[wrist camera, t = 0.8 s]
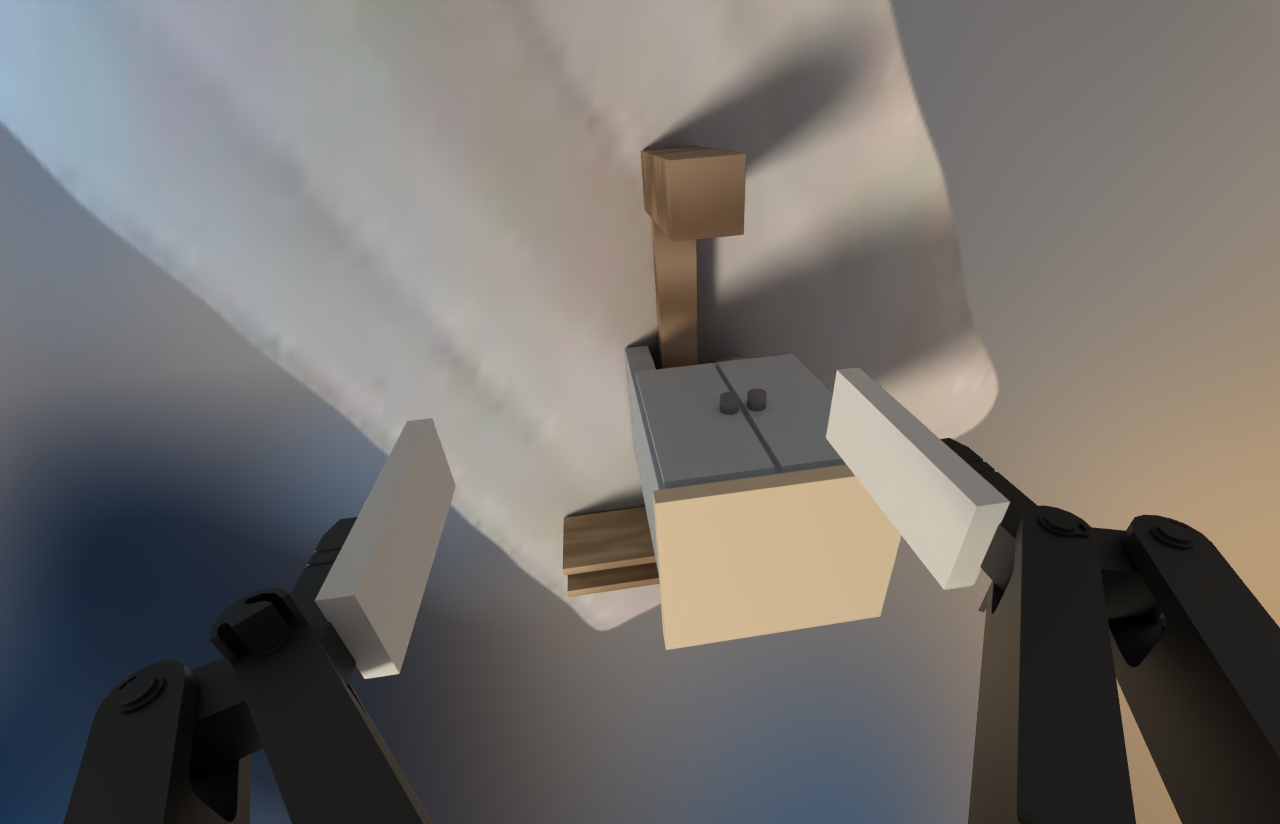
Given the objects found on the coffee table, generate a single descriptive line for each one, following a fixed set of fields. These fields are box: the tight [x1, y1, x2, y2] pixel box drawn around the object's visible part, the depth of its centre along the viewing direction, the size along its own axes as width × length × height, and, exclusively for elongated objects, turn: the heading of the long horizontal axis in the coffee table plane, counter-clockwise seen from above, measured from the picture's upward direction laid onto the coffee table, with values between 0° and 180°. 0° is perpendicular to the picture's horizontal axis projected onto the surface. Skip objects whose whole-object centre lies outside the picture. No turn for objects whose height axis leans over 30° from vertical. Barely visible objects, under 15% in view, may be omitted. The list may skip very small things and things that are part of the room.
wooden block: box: [641, 146, 746, 369], centre depth 35 cm, size 17×4×12 cm, turn 4°
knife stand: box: [563, 507, 660, 597], centre depth 50 cm, size 4×20×7 cm, turn 94°
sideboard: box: [625, 346, 901, 650], centre depth 37 cm, size 13×14×21 cm
